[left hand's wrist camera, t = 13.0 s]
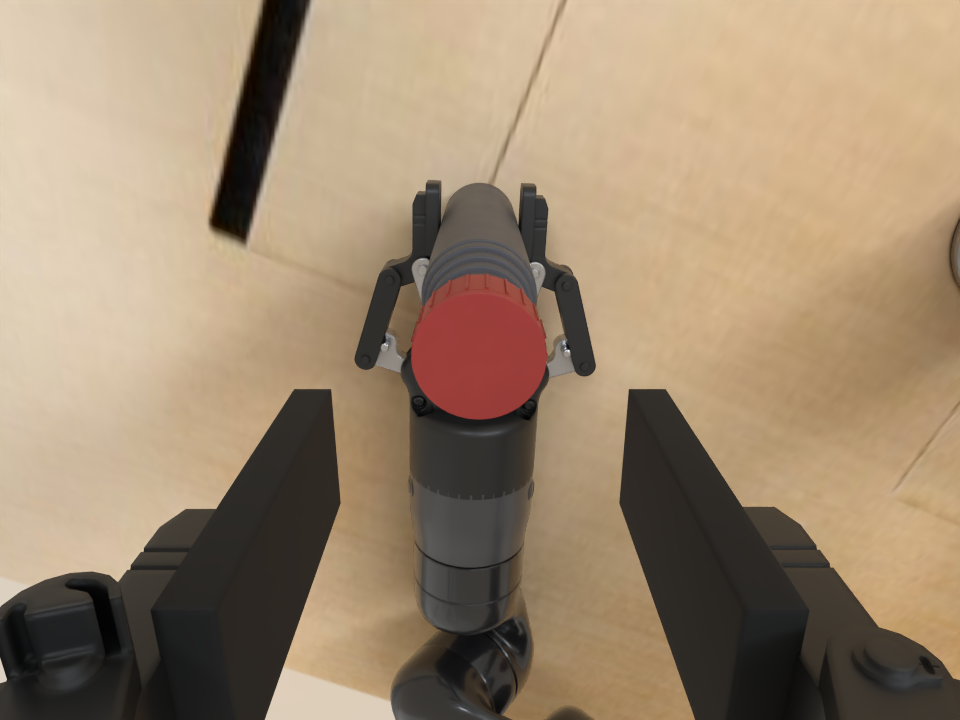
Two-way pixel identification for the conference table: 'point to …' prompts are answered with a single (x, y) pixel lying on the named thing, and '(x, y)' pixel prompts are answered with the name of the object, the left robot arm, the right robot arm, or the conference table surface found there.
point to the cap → (479, 347)
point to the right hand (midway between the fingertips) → (481, 185)
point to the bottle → (479, 242)
